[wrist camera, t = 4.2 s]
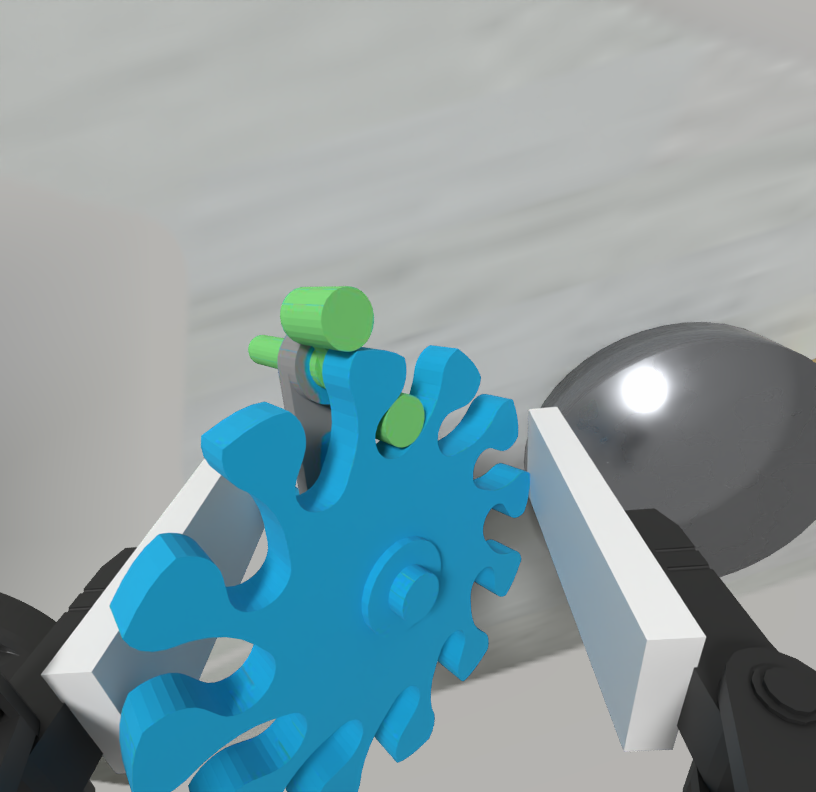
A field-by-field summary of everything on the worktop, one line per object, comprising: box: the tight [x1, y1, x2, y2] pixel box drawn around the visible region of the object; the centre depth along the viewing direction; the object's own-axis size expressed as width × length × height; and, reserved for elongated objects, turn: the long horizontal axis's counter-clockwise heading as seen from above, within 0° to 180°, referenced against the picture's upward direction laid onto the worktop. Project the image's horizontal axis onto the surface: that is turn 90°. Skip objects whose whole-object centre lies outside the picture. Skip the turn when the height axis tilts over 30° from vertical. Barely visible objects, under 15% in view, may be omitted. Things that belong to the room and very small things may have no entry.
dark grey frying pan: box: [524, 322, 816, 577], centre depth 21 cm, size 17×14×2 cm
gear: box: [109, 286, 530, 792], centre depth 11 cm, size 11×6×10 cm
